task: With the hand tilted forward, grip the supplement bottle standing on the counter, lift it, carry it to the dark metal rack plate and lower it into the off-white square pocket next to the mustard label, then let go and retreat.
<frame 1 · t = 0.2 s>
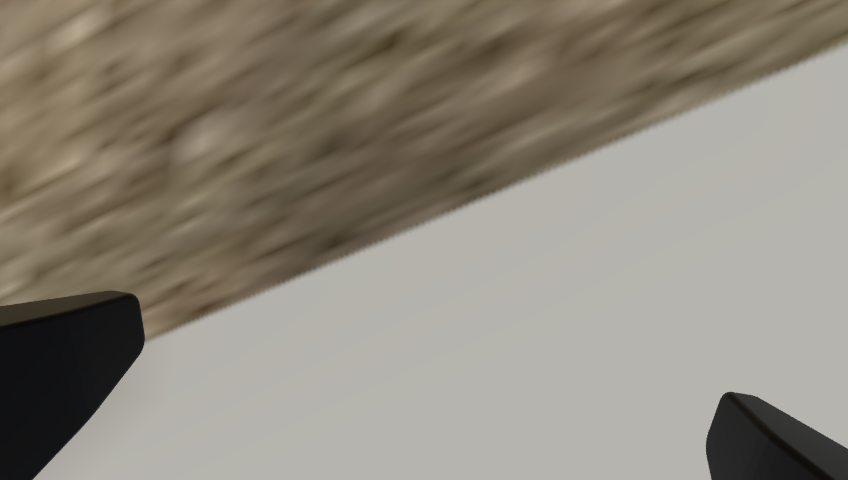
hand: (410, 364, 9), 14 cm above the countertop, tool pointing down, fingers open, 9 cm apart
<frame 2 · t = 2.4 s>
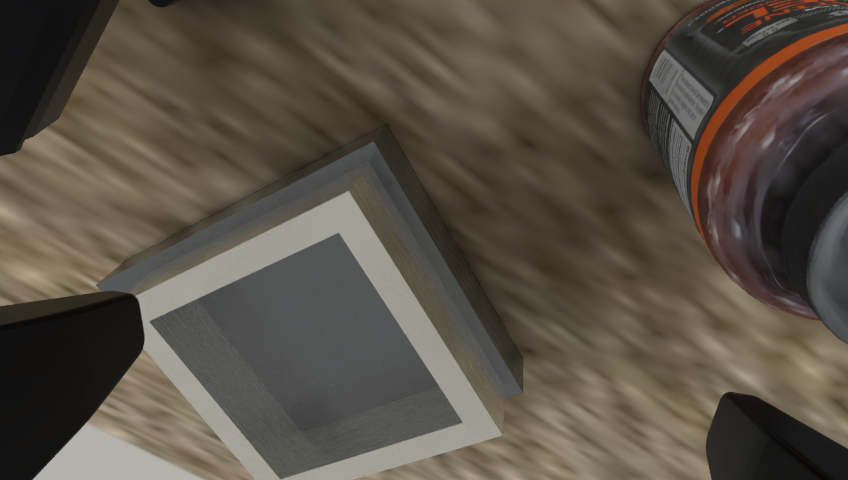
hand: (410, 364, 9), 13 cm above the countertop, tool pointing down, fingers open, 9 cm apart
rack plate: (321, 309, 25), on the countertop
supplement bottle: (734, 84, 19), on the countertop
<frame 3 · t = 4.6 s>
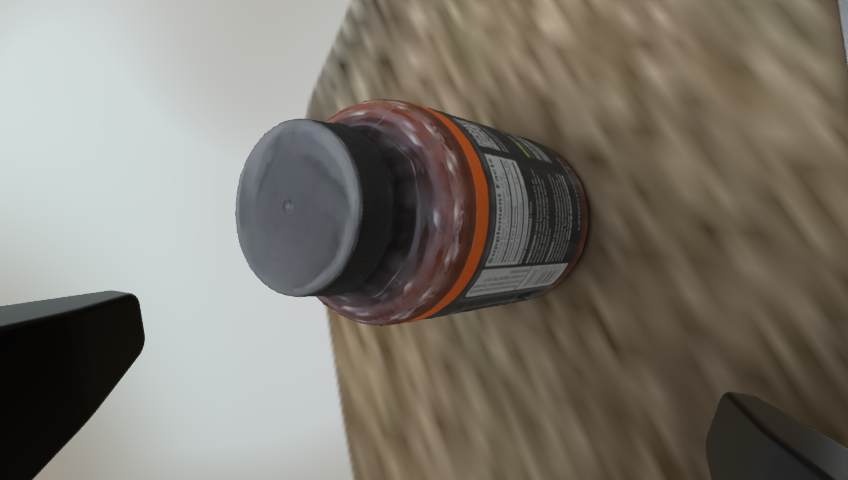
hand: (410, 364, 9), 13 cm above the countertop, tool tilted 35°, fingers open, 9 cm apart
supplement bottle: (519, 221, 23), on the countertop
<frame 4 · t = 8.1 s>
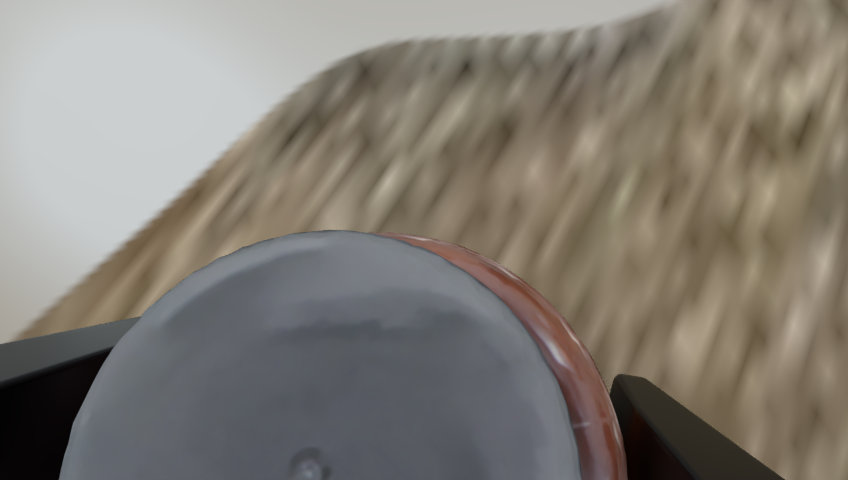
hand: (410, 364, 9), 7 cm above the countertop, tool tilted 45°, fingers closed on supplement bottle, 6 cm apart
supplement bottle: (426, 459, 15), on the countertop, touching gripper
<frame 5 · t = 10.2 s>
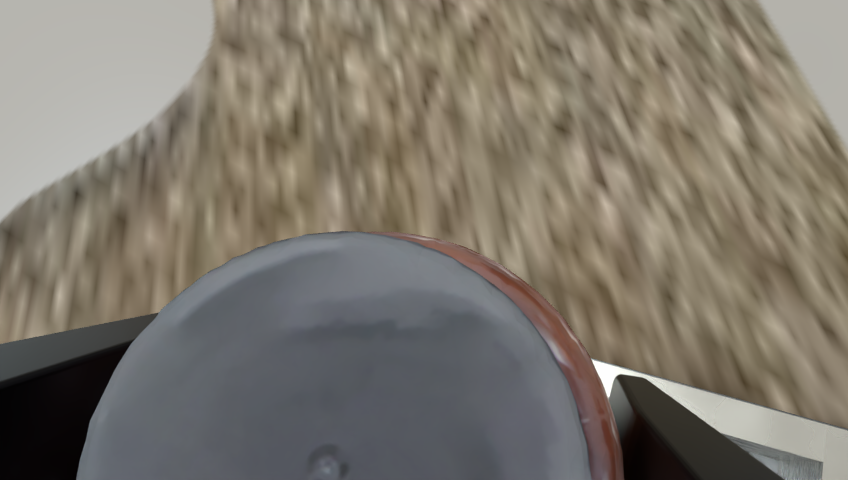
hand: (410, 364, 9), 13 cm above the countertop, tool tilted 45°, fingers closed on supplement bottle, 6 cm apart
supplement bottle: (416, 455, 15), point 6 cm above the countertop, touching gripper
when the fingers open (9 cm above the countertop, at t = 12.1 s): supplement bottle stays where it is, resting on rack plate.
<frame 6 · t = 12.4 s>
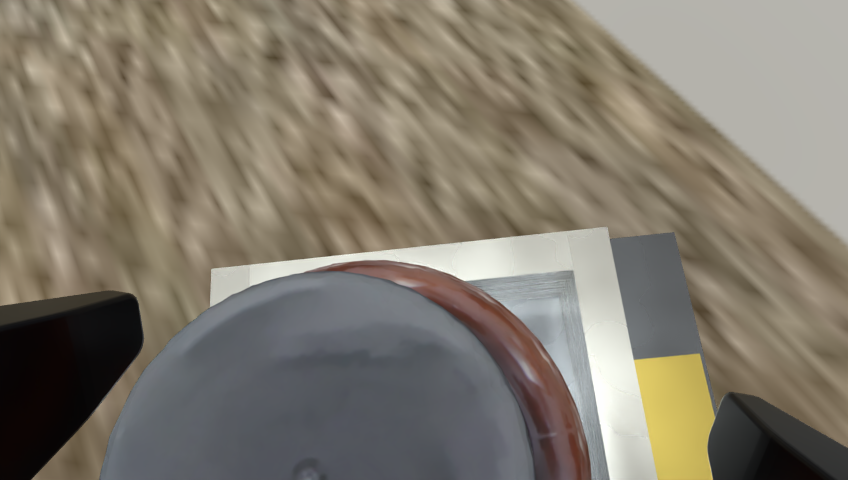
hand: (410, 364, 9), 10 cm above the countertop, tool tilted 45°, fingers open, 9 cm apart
rack plate: (469, 455, 18), on the countertop
supplement bottle: (420, 461, 16), point 2 cm above the countertop, touching rack plate
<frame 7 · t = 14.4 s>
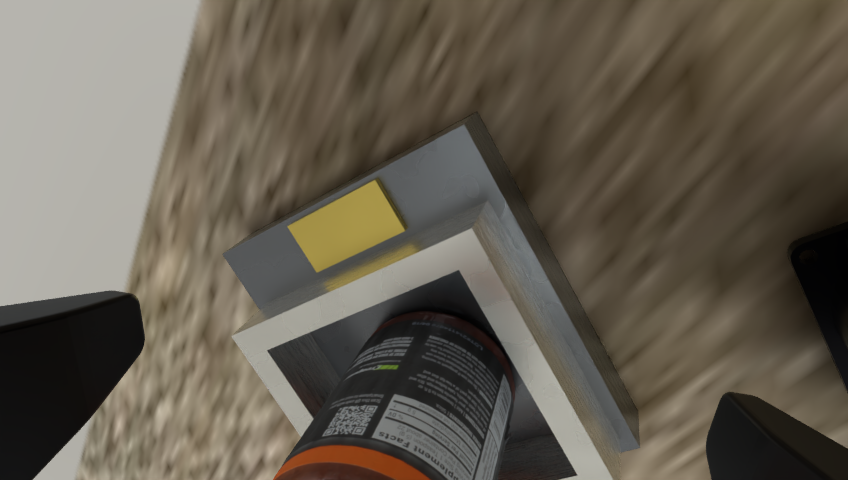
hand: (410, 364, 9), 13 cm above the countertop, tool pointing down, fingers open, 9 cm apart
rack plate: (436, 319, 24), on the countertop
supplement bottle: (441, 370, 23), point 2 cm above the countertop, touching rack plate
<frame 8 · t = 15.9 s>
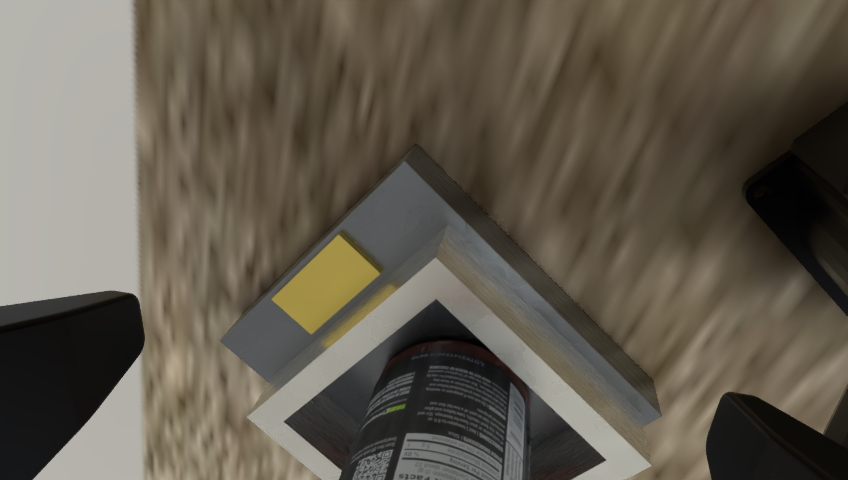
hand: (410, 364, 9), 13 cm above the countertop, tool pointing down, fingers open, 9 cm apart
rack plate: (438, 346, 25), on the countertop
supplement bottle: (454, 393, 23), point 2 cm above the countertop, touching rack plate
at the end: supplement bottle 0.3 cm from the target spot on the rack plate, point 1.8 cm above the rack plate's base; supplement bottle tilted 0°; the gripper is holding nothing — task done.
